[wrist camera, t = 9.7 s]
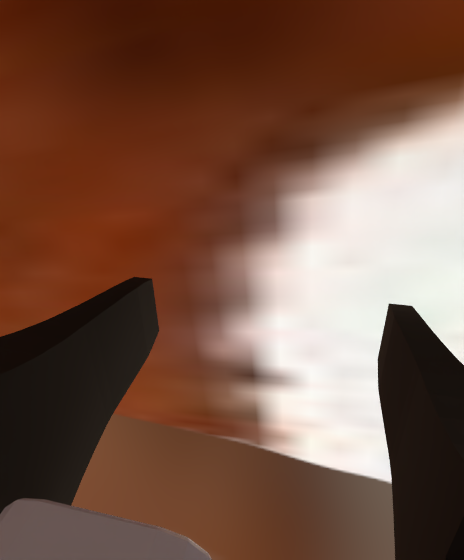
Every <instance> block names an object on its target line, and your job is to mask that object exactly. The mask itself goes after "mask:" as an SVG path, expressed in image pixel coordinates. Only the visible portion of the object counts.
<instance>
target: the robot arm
mask: <svg viewBox="0 0 464 560" xmlns="http://www.w3.org/2000/svg"><path fill="white" fill-rule="evenodd" d="M158 332H159V326H158V319H157V312H156V304H155V297H154V290H153V283H152V279H148V278H139V277H133V278H131V279H128V280H126V281H124V282H122V283H120V284H118V285H116V286H114V287H112V288H110V289H108V290H107V291H105V292H103V293H101V294H99V295H97V296H95V297H93V298H91V299H89V300H87V301H86V302H84V303H82V304H80V305H78V306H75V307H73V308H71V309H69V310H67V311H65V312H63V313H61V314H59V315H57V316H55V317H52V318H50V319H48V320H46V321H43V322H41V323H38V324H36V325H33V326H31V327H28V328H25V329H23V330H20V331H17V332H14V333H11V334H8V335H5V336H2V337H0V560H212V559H211V557H210V555H209V554H208V553H207V552H206V551H205V550H204V549H202V548H201V547H200V546H198V545H197V544H196V543H194V542H193V541H192V540H190V539H189V538H188V537H185V536H183V535H180V534H178V533H175V532H172V531H170V530H167V529H165V528H162V527H158V526H154V525H150V524H146V523H142V522H137V521H133V520H129V519H125V518H121V517H116V516H112V515H108V514H103V513H100V512H95V511H91V510H87V509H83V508H79V507H74V506H71V504H72V502H73V499H74V497H75V494H76V492H77V490H78V487H79V485H80V482H81V480H82V477H83V475H84V473H85V470H86V468H87V466H88V464H89V462H90V459H91V457H92V455H93V453H94V450H95V448H96V446H97V444H98V442H99V440H100V438H101V436H102V434H103V432H104V429H105V427H106V425H107V423H108V421H109V420H110V418H111V416H112V414H113V413H114V411H115V409H116V408H117V406H118V404H119V403H120V401H121V400H122V398H123V396H124V395H125V393H126V392H127V390H128V388H129V387H130V385H131V383H132V382H133V380H134V379H135V377H136V375H137V374H138V372H139V371H140V369H141V367H142V366H143V364H144V362H145V361H146V359H147V357H148V355H149V353H150V351H151V349H152V346H153V344H154V342H155V339H156V337H157V334H158ZM378 389H379V396H380V403H381V409H382V416H383V422H384V428H385V434H386V440H387V446H388V453H389V459H390V467H391V476H392V492H393V511H394V537H395V560H464V365H463V364H462V363H461V362H460V361H459V360H458V359H457V358H456V357H455V356H454V355H453V354H452V353H451V352H450V351H449V350H448V348H447V347H446V346H445V345H444V344H443V343H442V342H441V341H440V339H439V338H438V337H437V336H436V335H435V333H434V332H433V331H432V330H431V329H430V327H429V326H428V325H427V324H426V323H425V321H424V320H423V319H422V318H421V316H420V315H419V314H418V313H417V311H416V310H415V309H414V308H413V307H412V306H407V305H397V304H389V306H388V311H387V316H386V321H385V326H384V331H383V336H382V341H381V346H380V351H379V356H378Z"/></svg>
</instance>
